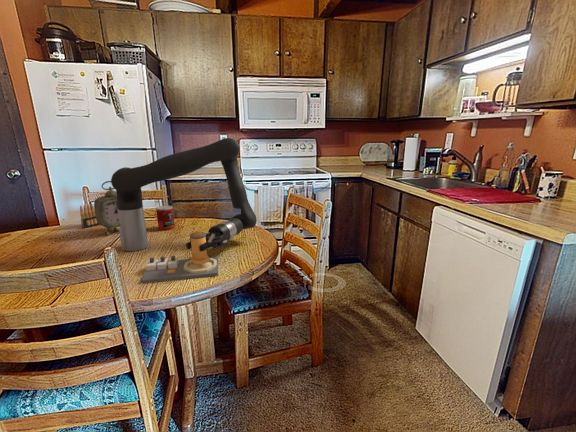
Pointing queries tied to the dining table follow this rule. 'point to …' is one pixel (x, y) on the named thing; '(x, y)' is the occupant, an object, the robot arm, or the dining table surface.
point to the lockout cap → (198, 255)
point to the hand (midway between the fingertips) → (193, 247)
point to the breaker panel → (178, 269)
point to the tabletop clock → (107, 210)
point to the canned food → (165, 217)
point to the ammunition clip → (88, 217)
